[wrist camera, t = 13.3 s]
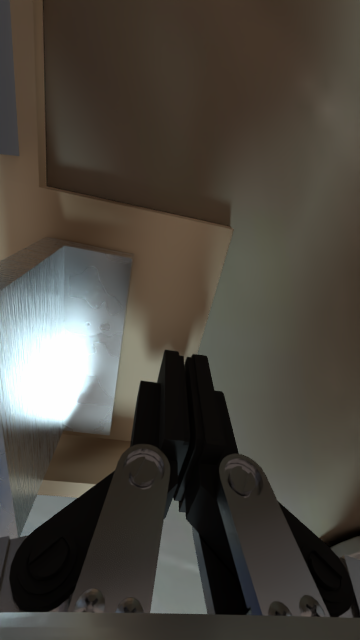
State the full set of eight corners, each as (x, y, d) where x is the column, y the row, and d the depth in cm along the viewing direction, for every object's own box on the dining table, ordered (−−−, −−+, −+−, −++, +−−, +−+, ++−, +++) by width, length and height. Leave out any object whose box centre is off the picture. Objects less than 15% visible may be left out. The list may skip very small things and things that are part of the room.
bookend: (134, 254, 10) (105, 322, 5) (111, 425, 14) (84, 543, 9) (46, 236, 9) (-66, 295, 5) (50, 418, 13) (-7, 538, 9)
